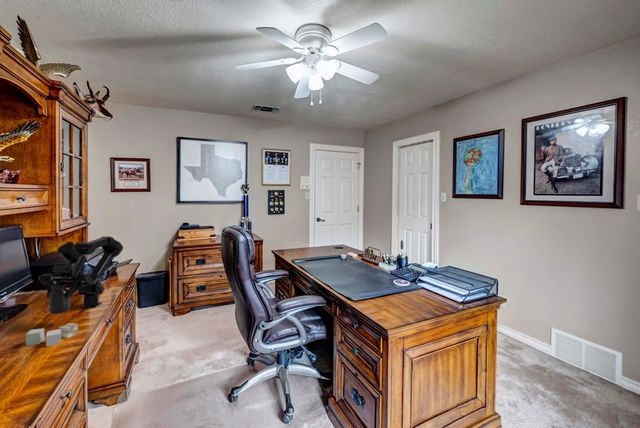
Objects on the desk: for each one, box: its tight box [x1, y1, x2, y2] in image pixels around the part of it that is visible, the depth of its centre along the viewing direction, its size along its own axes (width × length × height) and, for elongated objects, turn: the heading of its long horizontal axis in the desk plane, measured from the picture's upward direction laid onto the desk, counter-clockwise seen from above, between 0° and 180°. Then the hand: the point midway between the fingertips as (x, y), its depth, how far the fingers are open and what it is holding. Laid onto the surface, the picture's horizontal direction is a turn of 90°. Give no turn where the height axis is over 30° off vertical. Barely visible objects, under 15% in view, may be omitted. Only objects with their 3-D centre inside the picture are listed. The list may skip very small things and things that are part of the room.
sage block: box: [25, 327, 45, 347], centre depth 112 cm, size 4×4×4 cm
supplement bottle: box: [48, 282, 71, 315], centre depth 128 cm, size 7×7×12 cm
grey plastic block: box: [45, 328, 62, 347], centre depth 113 cm, size 5×4×4 cm
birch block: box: [58, 322, 78, 339], centre depth 119 cm, size 4×4×4 cm
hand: (57, 297), depth 126 cm, fingers closed on supplement bottle, 7 cm apart
